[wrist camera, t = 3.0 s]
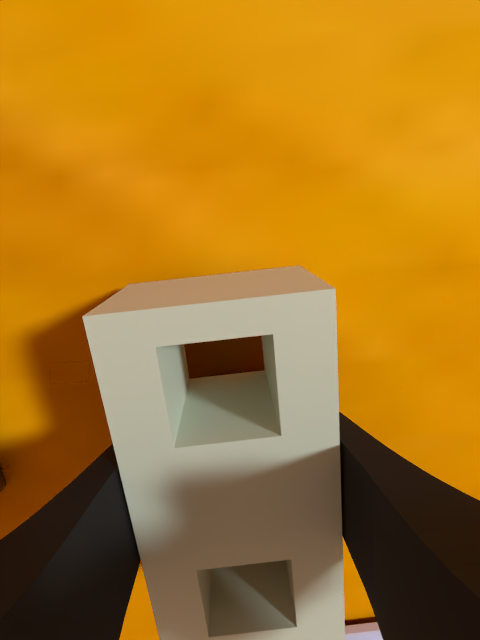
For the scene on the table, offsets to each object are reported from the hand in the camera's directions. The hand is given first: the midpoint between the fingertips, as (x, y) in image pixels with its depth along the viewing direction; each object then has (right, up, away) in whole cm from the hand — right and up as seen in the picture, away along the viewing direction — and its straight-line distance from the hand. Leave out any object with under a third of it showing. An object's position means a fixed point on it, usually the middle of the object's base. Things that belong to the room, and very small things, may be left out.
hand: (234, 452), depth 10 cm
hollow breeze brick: (0, 0, +1) cm, 2 cm away
